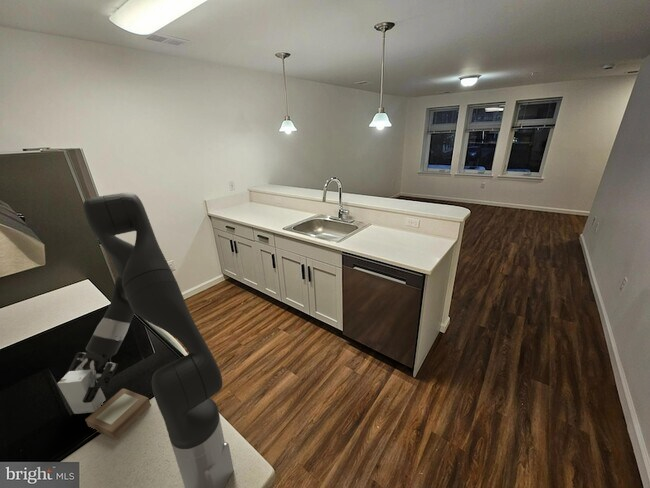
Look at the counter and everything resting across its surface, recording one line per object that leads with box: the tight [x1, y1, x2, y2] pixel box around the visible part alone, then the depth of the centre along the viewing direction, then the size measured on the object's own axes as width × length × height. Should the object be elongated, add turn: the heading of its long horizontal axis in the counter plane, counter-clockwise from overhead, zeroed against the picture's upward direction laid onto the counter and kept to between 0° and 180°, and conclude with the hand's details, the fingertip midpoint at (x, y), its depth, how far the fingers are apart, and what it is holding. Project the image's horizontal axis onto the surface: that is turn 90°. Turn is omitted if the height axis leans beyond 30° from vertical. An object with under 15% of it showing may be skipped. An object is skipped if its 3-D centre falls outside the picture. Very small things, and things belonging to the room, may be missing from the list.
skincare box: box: [57, 370, 107, 415], centre depth 74 cm, size 6×4×12 cm
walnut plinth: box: [84, 388, 152, 441], centre depth 73 cm, size 10×10×3 cm
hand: (77, 398), depth 73 cm, fingers closed on skincare box, 7 cm apart
